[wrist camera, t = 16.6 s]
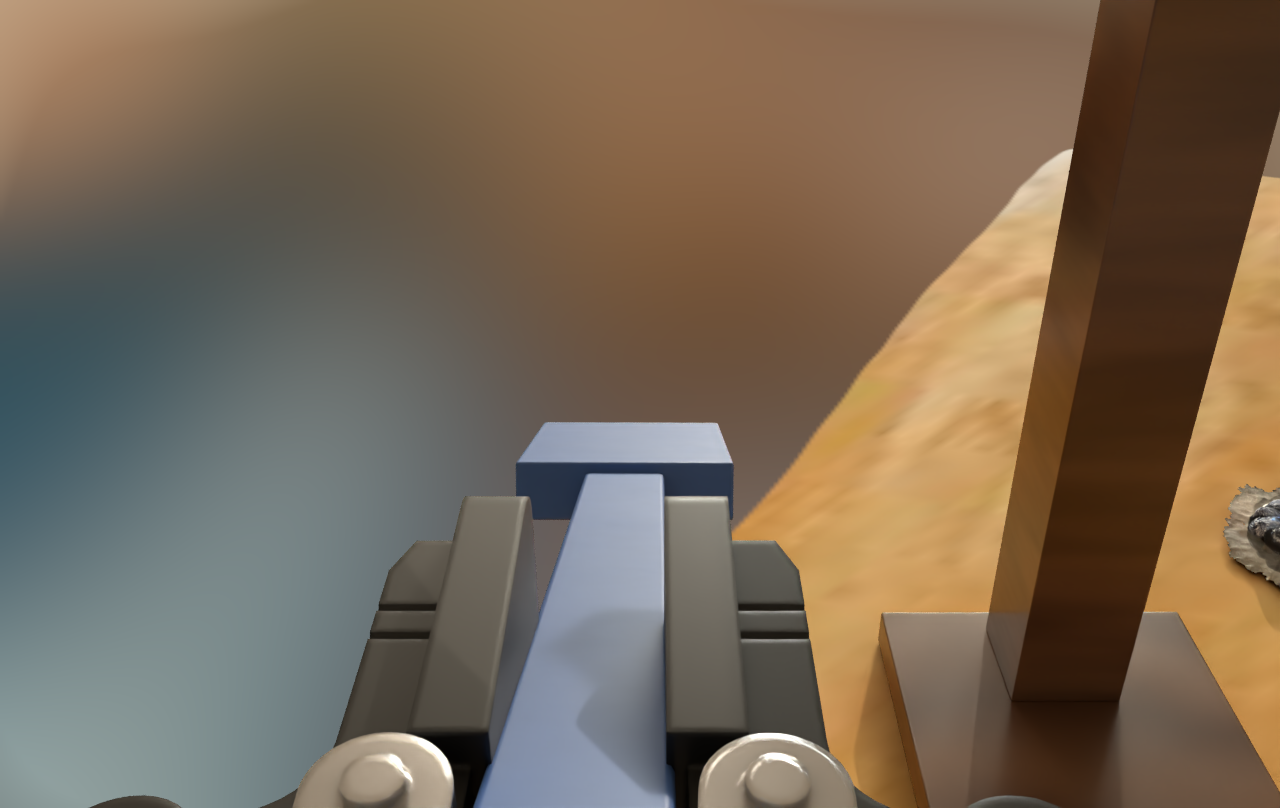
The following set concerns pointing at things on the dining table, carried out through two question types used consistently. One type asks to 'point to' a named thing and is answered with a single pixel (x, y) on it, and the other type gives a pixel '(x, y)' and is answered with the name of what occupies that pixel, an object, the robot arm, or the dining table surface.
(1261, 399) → the dining table surface
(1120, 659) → the shelf stand
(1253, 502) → the grey flat lumpy piece
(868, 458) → the dining table surface
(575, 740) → the blue paddle stick
